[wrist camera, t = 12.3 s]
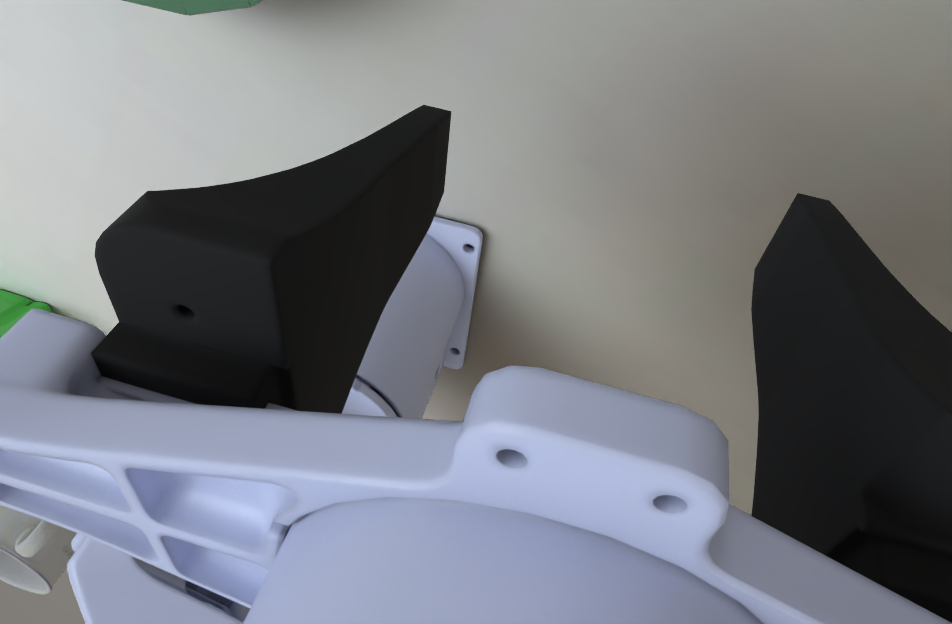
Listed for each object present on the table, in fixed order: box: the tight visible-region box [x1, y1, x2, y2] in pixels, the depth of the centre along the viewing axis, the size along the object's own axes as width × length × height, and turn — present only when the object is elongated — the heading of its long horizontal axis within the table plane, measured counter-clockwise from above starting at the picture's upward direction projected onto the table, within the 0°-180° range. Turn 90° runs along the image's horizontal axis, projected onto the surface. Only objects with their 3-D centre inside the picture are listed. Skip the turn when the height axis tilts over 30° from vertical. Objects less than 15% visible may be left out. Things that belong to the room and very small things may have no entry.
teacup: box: [0, 505, 77, 594], centre depth 61 cm, size 14×11×8 cm
